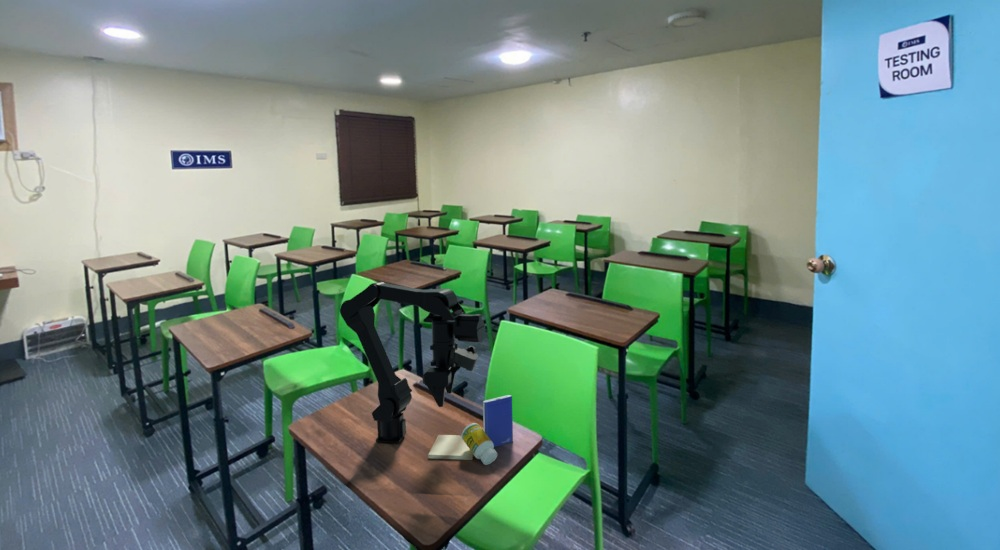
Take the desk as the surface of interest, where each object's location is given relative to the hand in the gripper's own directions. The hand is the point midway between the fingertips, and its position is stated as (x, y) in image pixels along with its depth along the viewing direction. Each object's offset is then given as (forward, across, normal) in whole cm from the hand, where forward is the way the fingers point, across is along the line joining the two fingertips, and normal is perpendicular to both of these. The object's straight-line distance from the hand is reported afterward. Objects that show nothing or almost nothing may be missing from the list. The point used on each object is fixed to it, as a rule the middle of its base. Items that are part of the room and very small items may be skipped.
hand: (445, 399), depth 120 cm
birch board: (+14, 0, -2) cm, 14 cm away
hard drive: (+13, +3, -13) cm, 19 cm away
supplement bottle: (+7, -1, -6) cm, 10 cm away
